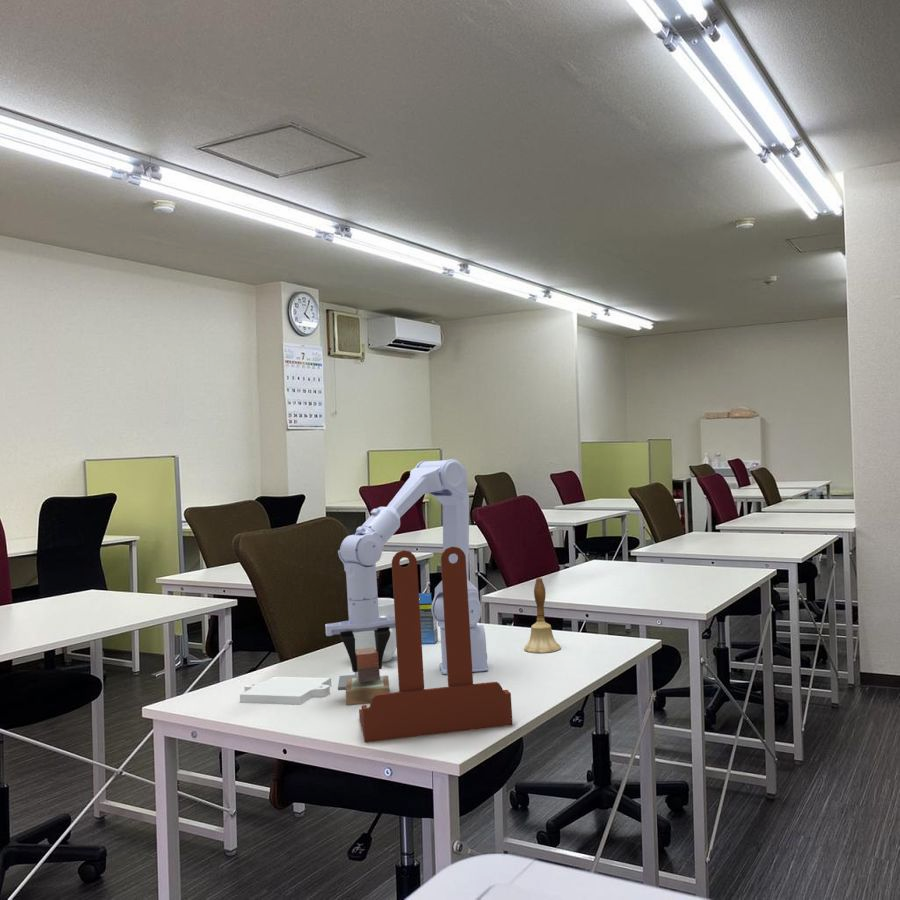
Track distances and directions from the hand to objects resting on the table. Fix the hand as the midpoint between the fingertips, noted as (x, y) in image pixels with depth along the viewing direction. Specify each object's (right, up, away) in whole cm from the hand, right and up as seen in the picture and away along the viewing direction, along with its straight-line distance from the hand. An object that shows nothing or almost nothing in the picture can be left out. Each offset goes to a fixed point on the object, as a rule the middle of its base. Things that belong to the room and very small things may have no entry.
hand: (366, 669), depth 161 cm
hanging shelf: (+13, -5, -18) cm, 23 cm away
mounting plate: (-16, -7, +6) cm, 18 cm away
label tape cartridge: (+8, -5, +45) cm, 46 cm away
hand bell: (+37, -4, +30) cm, 48 cm away
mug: (0, -6, +28) cm, 29 cm away
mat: (-3, -5, +11) cm, 12 cm away
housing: (0, -2, 0) cm, 2 cm away
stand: (0, -5, 0) cm, 5 cm away
